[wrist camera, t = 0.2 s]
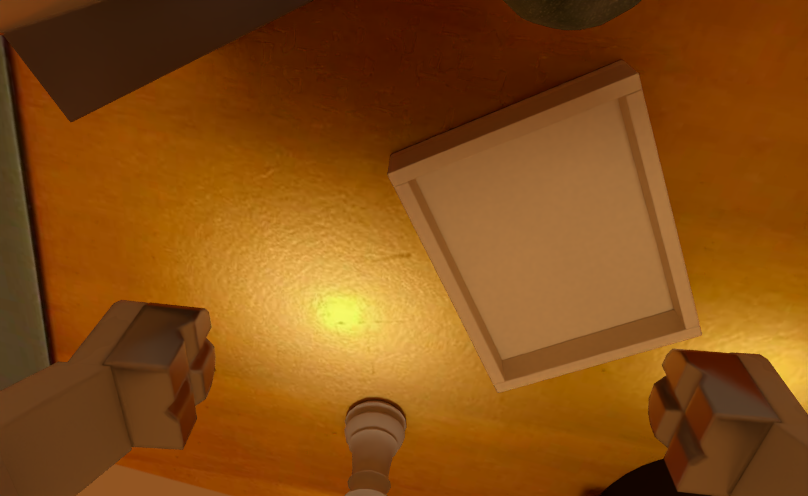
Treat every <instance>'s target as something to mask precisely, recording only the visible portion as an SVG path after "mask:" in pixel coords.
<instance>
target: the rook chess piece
mask: <svg viewBox="0 0 808 496" xmlns="http://www.w3.org/2000/svg"><path fill="white" fill-rule="evenodd" d="M345 423H346V427H345V436H346V442H347V443H348V445H349V449H350V451H351V452H352V466H353V469H352V476H350V478H349V480H348V487H349V489H350V491H349V492H348V493H347V494H346V495H345V496H387V495H386V493H388V491H389V490H390V488H391V485H390V481H389V480H388V475H389V470H390V466H391V461H392V457H393V456H395V454H396V452H397V450H398V449H400V447H401V445H402V443H403V440H404V438H405V434H404V431H405V429H406V420H405V418H404V417H403V415H402V414H401V412H400V411H399V410H398V409H397V408H396V407H394V406H392V405H391V404H389V403H386V402H383V401H366V402H363V403H360V404H358V405H357V406H355V407H354V408H353V409H352V410H351V411H349V412H348V414H347V417H346V419H345Z"/></svg>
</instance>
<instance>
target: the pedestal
mask: <svg viewBox="0 0 808 496" xmlns="http://www.w3.org/2000/svg"><path fill="white" fill-rule="evenodd" d="M312 1H313V0H107V1H104V2H101V3H98V4H95V5H92V6H89V7H86V8H83V9H80V10H76V11H73V12H70V13H67V14H64V15H61V16H58V17H55V18H52V19H49V20H46V21H43V22H40V23H37V24H33V25H30V26H27V27H24V28H21V29H18V30H15V31H12V32H9V33H6V34H3V35H4V36H5V38H6V39H7V40H8V41H9V43H10V44H11V45H12V47H13V48H14V49H15V51H16V52H17V53H18V54H19V56H20V57H21V58H22V60H23V61H24V62H25V64H26V65H27V66H28V68H29V69H30V70H31V71H32V73H33V74H34V75H35V77H36V78H37V79H38V81H39V82H40V83H41V85H42V86H43V87H44V88H45V90H46V91H47V92H48V94H49V95H50V96H51V98H52V99H53V100H54V101H55V103H56V104H57V105H58V107H59V108H60V109H61V111H62V112H63V113H64V115H65V116H66V117H67V118H68V120H69V121H70V122H73V121H75V120H77V119H79V118H81V117H83V116H85V115H87V114H89V113H91V112H93V111H95V110H97V109H99V108H101V107H103V106H105V105H107V104H109V103H111V102H113V101H115V100H117V99H119V98H121V97H123V96H125V95H127V94H129V93H131V92H133V91H135V90H137V89H139V88H141V87H143V86H145V85H147V84H149V83H151V82H153V81H155V80H157V79H159V78H161V77H163V76H165V75H167V74H169V73H171V72H173V71H175V70H176V69H178V68H180V67H182V66H184V65H186V64H188V63H190V62H192V61H194V60H196V59H198V58H200V57H202V56H204V55H206V54H208V53H210V52H212V51H214V50H216V49H218V48H220V47H222V46H224V45H226V44H228V43H230V42H232V41H234V40H236V39H238V38H240V37H242V36H244V35H246V34H248V33H250V32H252V31H254V30H256V29H258V28H260V27H262V26H264V25H266V24H268V23H270V22H272V21H274V20H276V19H278V18H280V17H282V16H284V15H286V14H288V13H290V12H292V11H294V10H296V9H298V8H300V7H302V6H304V5H306V4H308V3H310V2H312Z"/></svg>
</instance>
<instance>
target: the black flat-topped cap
mask: <svg viewBox="0 0 808 496" xmlns="http://www.w3.org/2000/svg"><path fill="white" fill-rule="evenodd" d="M600 496H712V495H704V494H695V493H686V492H677V489H676V487H675V484H674V482H673V480H672V477H671V475H670V472H669V470H668V468H667V465H666V463H665V460H660V461H657V462H654V463H651V464H648V465H645V466H642V467H640V468H638V469H636V470H634V471H632V472H630V473H628V474H626V475H625V476H623V477H622V478H620V479H619V480H617V481H616V482H615V483H613V484H612V485H610V486H609V487H608V488H607V489H606V490H605V491H604V492H603V493H602V494H601V495H600Z"/></svg>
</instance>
